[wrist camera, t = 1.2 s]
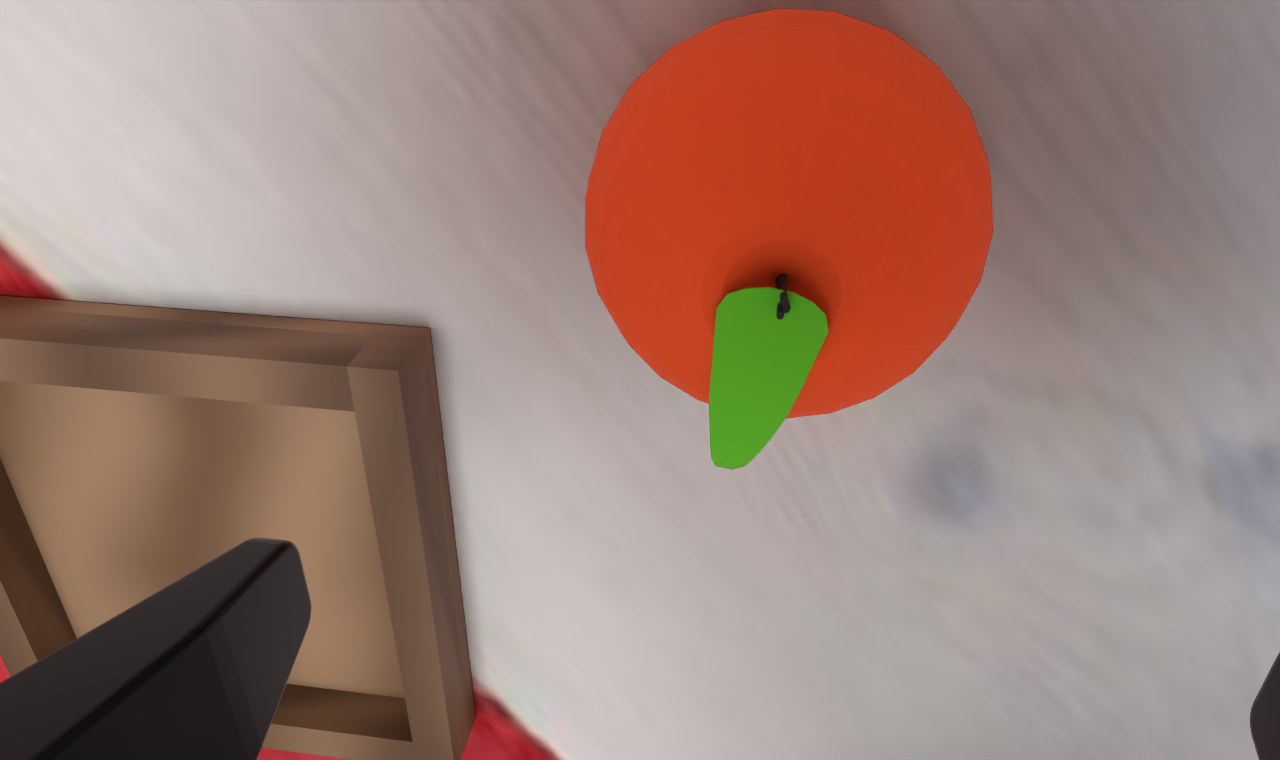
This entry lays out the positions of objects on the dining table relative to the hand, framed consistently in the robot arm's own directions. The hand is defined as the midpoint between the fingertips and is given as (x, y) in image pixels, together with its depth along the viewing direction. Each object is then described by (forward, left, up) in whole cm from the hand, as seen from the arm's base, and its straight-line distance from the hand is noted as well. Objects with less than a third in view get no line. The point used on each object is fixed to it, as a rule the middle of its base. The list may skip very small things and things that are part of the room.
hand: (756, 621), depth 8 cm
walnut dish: (+15, +11, -12) cm, 22 cm away
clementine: (0, 0, -13) cm, 13 cm away
